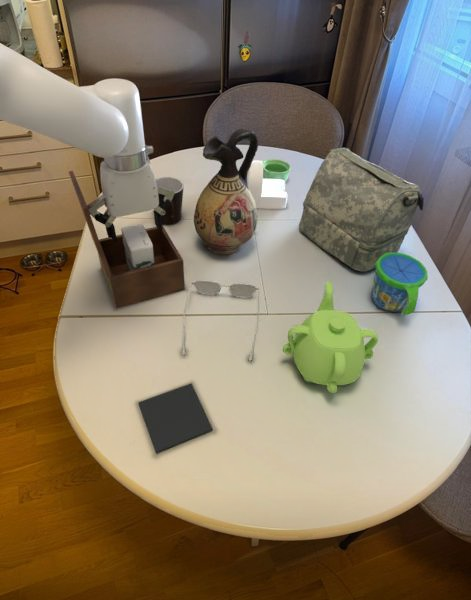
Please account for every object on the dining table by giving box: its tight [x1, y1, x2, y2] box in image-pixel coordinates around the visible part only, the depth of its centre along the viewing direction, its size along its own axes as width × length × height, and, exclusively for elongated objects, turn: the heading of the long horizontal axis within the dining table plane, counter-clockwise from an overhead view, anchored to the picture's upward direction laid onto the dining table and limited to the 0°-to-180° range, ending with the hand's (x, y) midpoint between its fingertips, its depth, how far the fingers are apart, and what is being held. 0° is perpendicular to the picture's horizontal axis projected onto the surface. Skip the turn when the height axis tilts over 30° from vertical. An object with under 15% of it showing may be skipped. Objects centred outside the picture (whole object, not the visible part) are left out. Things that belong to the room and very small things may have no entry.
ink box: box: [120, 223, 155, 272], centre depth 92 cm, size 9×5×12 cm, turn 25°
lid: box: [68, 170, 111, 278], centre depth 81 cm, size 16×14×1 cm
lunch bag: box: [298, 147, 425, 272], centre depth 103 cm, size 26×18×22 cm
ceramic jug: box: [193, 128, 259, 255], centre depth 97 cm, size 17×15×30 cm
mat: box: [138, 382, 214, 454], centre depth 72 cm, size 10×10×1 cm
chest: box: [97, 225, 186, 310], centre depth 93 cm, size 16×14×9 cm
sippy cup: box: [371, 252, 429, 316], centre depth 92 cm, size 16×10×10 cm
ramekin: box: [263, 158, 291, 183], centre depth 131 cm, size 9×9×4 cm
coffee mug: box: [155, 176, 185, 226], centre depth 110 cm, size 12×9×10 cm
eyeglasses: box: [181, 279, 261, 362], centre depth 87 cm, size 15×18×4 cm
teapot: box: [282, 280, 379, 394], centre depth 78 cm, size 16×14×13 cm
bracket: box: [247, 159, 288, 210], centre depth 119 cm, size 19×10×11 cm, turn 91°
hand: (136, 233), depth 87 cm, fingers open, 9 cm apart
